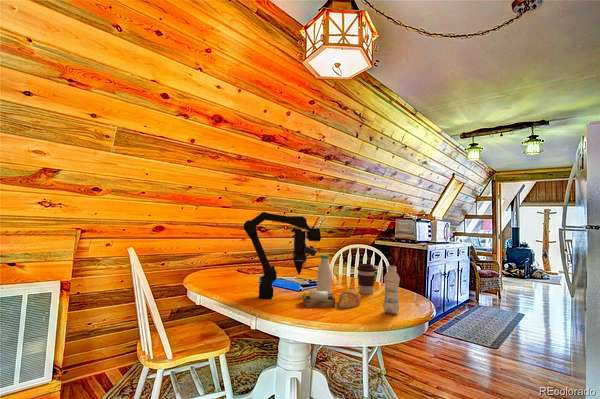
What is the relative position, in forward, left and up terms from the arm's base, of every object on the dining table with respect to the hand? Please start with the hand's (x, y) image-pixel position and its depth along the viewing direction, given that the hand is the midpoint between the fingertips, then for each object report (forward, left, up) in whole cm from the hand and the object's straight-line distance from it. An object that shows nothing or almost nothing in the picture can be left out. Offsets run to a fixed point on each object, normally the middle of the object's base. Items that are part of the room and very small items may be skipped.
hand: (298, 272), depth 161 cm
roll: (+9, -13, -11) cm, 19 cm away
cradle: (+9, -13, -12) cm, 20 cm away
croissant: (+24, -11, -12) cm, 29 cm away
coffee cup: (+37, +11, -12) cm, 40 cm away
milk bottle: (+14, +8, -12) cm, 20 cm away
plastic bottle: (+39, -24, -12) cm, 47 cm away
